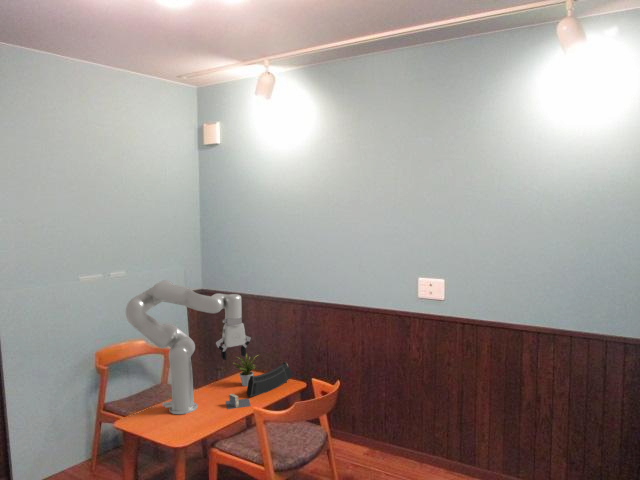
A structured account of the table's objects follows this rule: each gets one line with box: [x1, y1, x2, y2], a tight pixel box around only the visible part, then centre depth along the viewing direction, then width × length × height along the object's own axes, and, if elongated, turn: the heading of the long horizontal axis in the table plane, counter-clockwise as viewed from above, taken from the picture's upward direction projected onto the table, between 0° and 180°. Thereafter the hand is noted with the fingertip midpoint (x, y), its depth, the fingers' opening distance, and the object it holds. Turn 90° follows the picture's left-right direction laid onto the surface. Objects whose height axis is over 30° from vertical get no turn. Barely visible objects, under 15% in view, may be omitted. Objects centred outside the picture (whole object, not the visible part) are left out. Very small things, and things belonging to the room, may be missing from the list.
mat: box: [225, 397, 252, 410], centre depth 233 cm, size 11×10×1 cm
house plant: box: [232, 353, 259, 387], centre depth 259 cm, size 14×14×16 cm
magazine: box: [246, 361, 293, 398], centre depth 251 cm, size 17×3×30 cm
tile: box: [228, 393, 239, 407], centre depth 230 cm, size 2×5×5 cm, turn 45°
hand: (233, 357), depth 228 cm, fingers open, 9 cm apart
